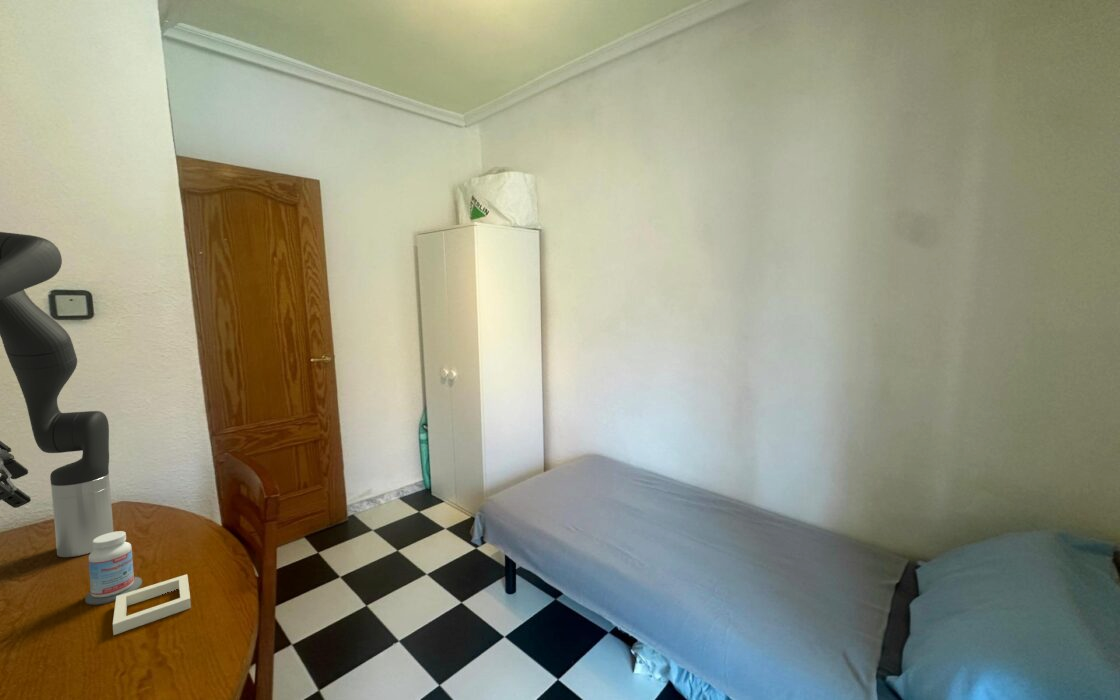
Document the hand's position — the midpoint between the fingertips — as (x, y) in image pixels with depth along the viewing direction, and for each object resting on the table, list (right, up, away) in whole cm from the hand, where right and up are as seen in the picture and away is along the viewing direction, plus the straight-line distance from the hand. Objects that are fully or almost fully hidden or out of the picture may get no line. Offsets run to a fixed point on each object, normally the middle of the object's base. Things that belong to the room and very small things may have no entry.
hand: (22, 489), depth 80 cm
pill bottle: (+10, -23, +7) cm, 26 cm away
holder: (+22, -24, +3) cm, 33 cm away
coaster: (+10, -23, +7) cm, 26 cm away
